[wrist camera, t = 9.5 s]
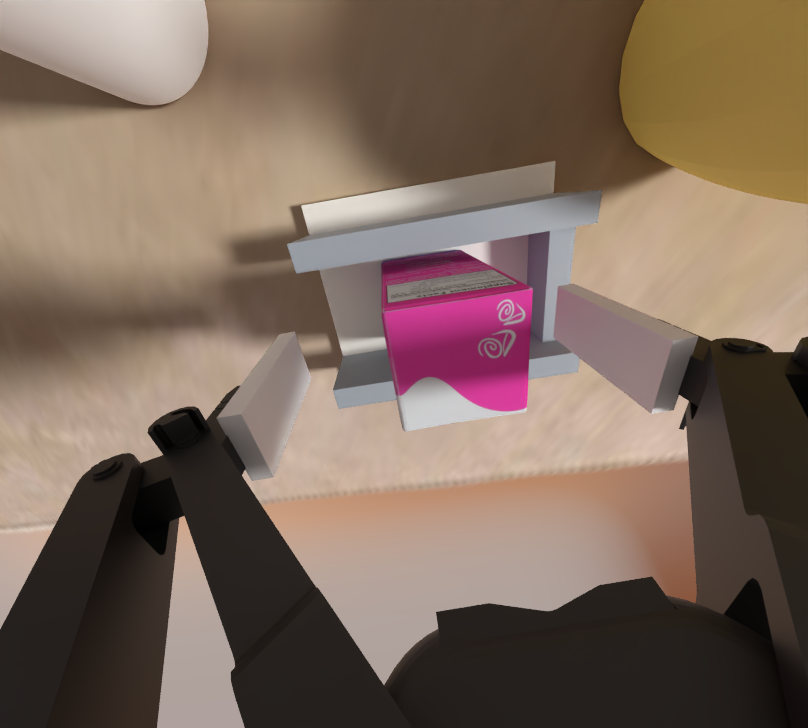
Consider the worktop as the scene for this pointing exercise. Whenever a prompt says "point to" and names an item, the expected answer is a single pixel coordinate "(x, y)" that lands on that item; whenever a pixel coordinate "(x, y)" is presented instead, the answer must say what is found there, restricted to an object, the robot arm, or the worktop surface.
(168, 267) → the worktop surface
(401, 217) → the slot cradle
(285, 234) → the worktop surface
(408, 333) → the supplement box
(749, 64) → the vase
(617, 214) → the worktop surface
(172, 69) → the beverage can
